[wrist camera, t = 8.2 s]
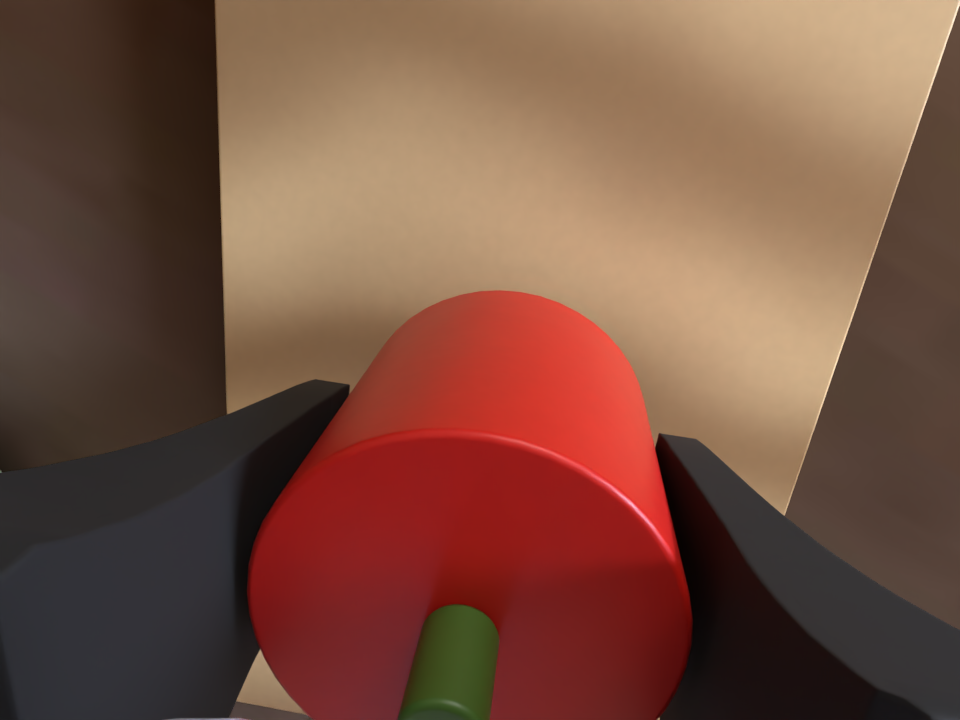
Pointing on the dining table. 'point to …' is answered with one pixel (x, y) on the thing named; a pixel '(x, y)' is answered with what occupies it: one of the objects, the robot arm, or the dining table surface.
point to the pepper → (478, 532)
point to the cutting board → (569, 190)
